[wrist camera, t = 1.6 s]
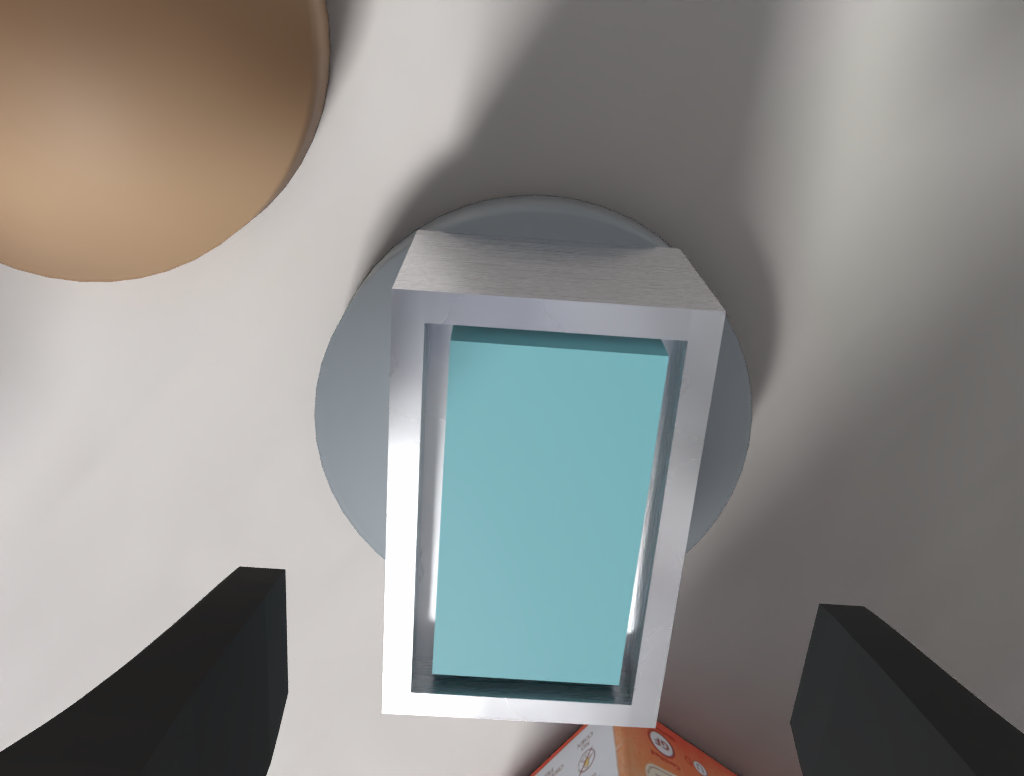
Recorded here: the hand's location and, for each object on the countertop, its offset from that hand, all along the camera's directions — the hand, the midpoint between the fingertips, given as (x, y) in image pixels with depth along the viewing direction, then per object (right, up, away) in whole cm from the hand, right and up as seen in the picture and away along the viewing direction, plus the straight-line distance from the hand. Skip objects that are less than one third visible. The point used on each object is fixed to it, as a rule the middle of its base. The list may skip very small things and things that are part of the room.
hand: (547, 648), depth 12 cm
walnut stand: (-9, +10, +5) cm, 14 cm away
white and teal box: (0, +3, +7) cm, 7 cm away
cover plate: (0, +1, +4) cm, 4 cm away
